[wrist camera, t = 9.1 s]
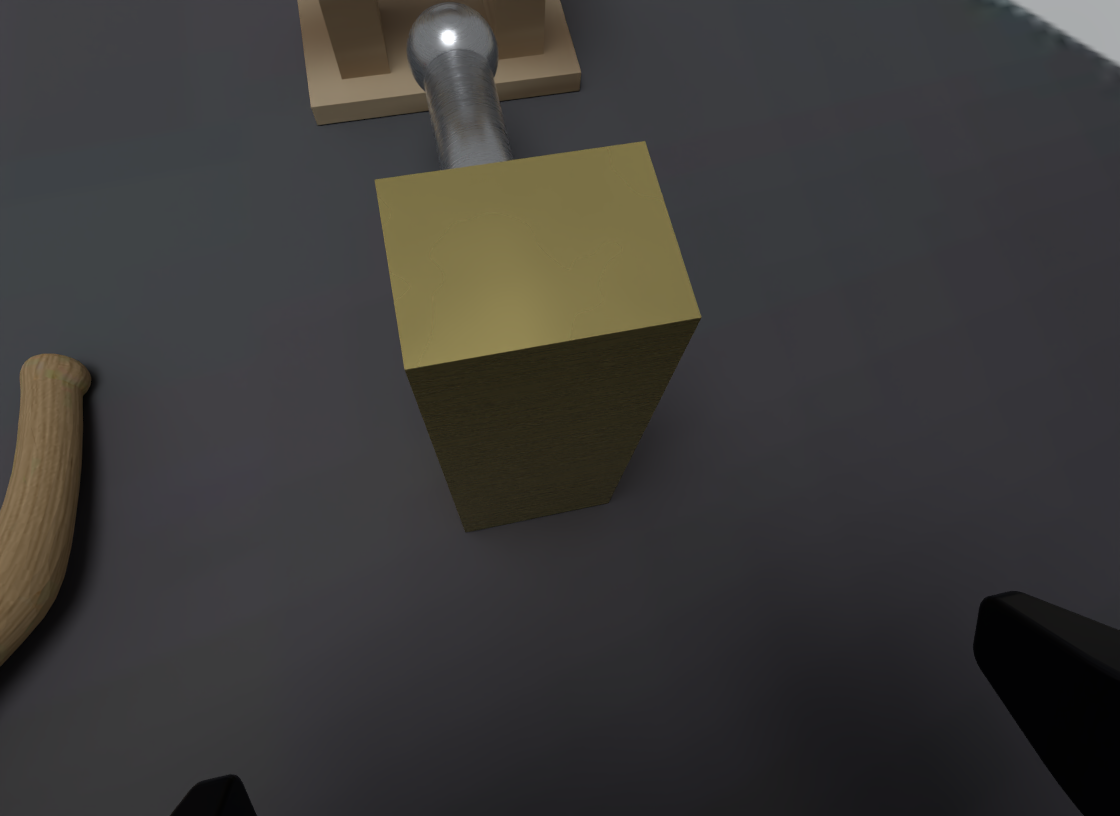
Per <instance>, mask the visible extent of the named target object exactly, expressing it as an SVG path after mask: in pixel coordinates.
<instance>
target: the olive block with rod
mask: <svg viewBox="0 0 1120 816" xmlns="http://www.w3.org/2000/svg"><path fill="white" fill-rule="evenodd" d="M406 52H407V61H408V64H409V68H410V71H411V73H412V75H413V77H414V79H415V80H416V82H417V83H418V85H419V86H420V87H421V88H422V89H423V90H424V91H425V93H426V98H427V103H428V108H429V113H430V118H431V123H432V128H433V133H434V138H435V144H436V149H437V154H438V159H439V164H440V169H441V170H440V171H433V172H426V173H419V174H412V175H405V176H398V177H391V178H384V179H377V180H375V185H376V191H377V197H378V204H379V210H380V216H381V223H382V229H383V235H384V242H385V248H386V254H387V261H388V267H389V273H390V280H391V286H392V292H393V298H394V305H395V311H396V317H397V324H398V330H399V336H400V343H401V349H402V355H403V362H404V368H405V372H406V374H407V377H408V380H409V382H410V385H411V388H412V390H413V393H414V396H415V398H416V401H417V404H418V406H419V409H420V412H421V415H422V417H423V420H424V423H425V425H426V428H427V431H428V433H429V436H430V439H431V441H432V444H433V447H434V449H435V452H436V455H437V457H438V460H439V463H440V465H441V468H442V471H443V473H444V476H445V479H446V481H447V484H448V487H449V489H450V492H451V495H452V497H453V500H454V503H455V505H456V508H457V511H458V513H459V516H460V519H461V522H462V524H463V527H464V530H465V532H470V531H475V530H480V529H485V528H490V527H494V526H499V525H504V524H509V523H514V522H519V521H524V520H528V519H533V518H538V517H543V516H548V515H553V514H557V513H562V512H567V511H572V510H577V509H582V508H587V507H591V506H596V505H601V504H606V503H608V502H609V500H610V498H611V496H612V494H613V492H614V490H615V488H616V486H617V484H618V482H619V480H620V478H621V476H622V474H623V472H624V470H625V468H626V466H627V464H628V462H629V460H630V458H631V457H632V455H633V453H634V451H635V449H636V447H637V445H638V443H639V441H640V439H641V437H642V435H643V433H644V431H645V429H646V427H647V425H648V423H649V421H650V419H651V417H652V415H653V413H654V411H655V409H656V407H657V405H658V403H659V401H660V399H661V397H662V395H663V393H664V391H665V389H666V387H667V385H668V383H669V381H670V379H671V377H672V375H673V373H674V371H675V369H676V367H677V365H678V363H679V361H680V359H681V357H682V355H683V353H684V351H685V349H686V347H687V345H688V343H689V341H690V339H691V337H692V335H693V333H694V331H695V329H696V327H697V325H698V323H699V321H700V319H701V315H700V312H699V309H698V306H697V303H696V299H695V296H694V293H693V290H692V287H691V284H690V281H689V278H688V274H687V271H686V268H685V265H684V262H683V259H682V256H681V252H680V249H679V246H678V243H677V240H676V237H675V234H674V231H673V227H672V224H671V221H670V218H669V215H668V212H667V209H666V206H665V202H664V199H663V196H662V193H661V190H660V187H659V184H658V180H657V177H656V174H655V171H654V168H653V165H652V162H651V159H650V155H649V152H648V149H647V146H646V143H645V141H643V142H636V143H629V144H622V145H615V146H608V147H601V148H594V149H587V150H580V151H573V152H566V153H559V154H552V155H545V156H538V157H531V158H524V159H517V160H513V156H512V152H511V148H510V143H509V139H508V135H507V131H506V127H505V123H504V118H503V114H502V110H501V106H500V102H499V98H498V93H497V89H496V85H495V81H494V77H495V74H496V72H497V67H498V60H499V52H498V45H497V41H496V38H495V35H494V33H493V31H492V29H491V27H490V25H489V24H488V22H487V21H486V20H485V19H484V18H483V17H482V16H481V15H480V14H479V13H478V12H477V11H475V10H474V9H472V8H470V7H469V6H466V5H464V4H460V3H455V2H444V3H439V4H436V5H433V6H431V7H429V8H428V9H426V10H425V11H423V12H422V13H421V14H420V15H419V16H418V17H417V19H416V20H415V22H414V23H413V25H412V27H411V29H410V32H409V35H408V39H407V48H406Z"/></svg>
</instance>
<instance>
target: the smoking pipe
mask: <svg viewBox="0 0 1120 816" xmlns="http://www.w3.org/2000/svg"><path fill="white" fill-rule="evenodd" d="M90 385H91V376H90V373H89V371H88V370H87V368H86V367H85V366H84V365H83V364H82V363H80V362H79V361H77V360H75V359H73V358H70V357H67V356H63V355H58V354H40V355H36V356H33V357H31V358H29V359H28V360H27V361H26V362H25V363H24V365H23V366H22V369H21V371H20V387H21V399H20V414H19V424H18V434H17V444H16V451H15V457H14V463H13V469H12V474H11V478H10V481H9V485H8V489H7V492H6V496H5V499H4V503H3V506H2V508H1V511H0V666H1V665H2V664H3V663H4V662H5V661H6V660H7V659H8V658H9V657H10V656H11V655H12V654H13V652H14V651H15V650H16V649H17V648H18V647H19V646H20V645H21V644H22V643H23V642H24V641H25V639H26V638H27V637H28V636H29V635H30V634H31V632H32V631H33V630H34V629H35V628H36V627H37V625H38V624H39V623H40V622H41V621H42V619H43V618H44V617H45V615H46V614H47V612H48V611H49V609H50V607H51V606H52V604H53V603H54V601H55V599H56V597H57V594H58V592H59V590H60V587H61V585H62V582H63V580H64V577H65V573H66V569H67V564H68V560H69V555H70V551H71V546H72V540H73V534H74V527H75V519H76V511H77V504H78V496H79V486H80V477H81V467H82V443H83V395H84V394H85V393H86V392H87V391H88V389H89V387H90Z"/></svg>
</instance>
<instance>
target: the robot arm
mask: <svg viewBox="0 0 1120 816" xmlns="http://www.w3.org/2000/svg"><path fill="white" fill-rule="evenodd" d="M973 651H974V656H975V659H976V661H977V664H978V666H979V667H980V669H981V671H982V672H983V674H984V675H985V677H986V678H987V680H988V681H989V683H990V684H991V686H992V687H993V689H994V690H995V691H996V693H997V694H998V696H999V697H1000V699H1001V700H1002V702H1003V703H1004V705H1005V706H1006V708H1007V709H1008V711H1009V712H1010V714H1011V715H1012V717H1013V718H1014V720H1015V721H1016V723H1017V724H1018V726H1019V727H1020V729H1021V730H1022V732H1023V733H1024V735H1025V736H1026V738H1027V739H1028V741H1029V742H1030V744H1031V745H1032V746H1033V748H1034V749H1035V751H1036V752H1037V754H1038V755H1039V757H1040V758H1041V760H1042V761H1043V763H1044V764H1045V766H1046V767H1047V768H1048V770H1049V771H1050V773H1051V774H1052V775H1053V777H1054V778H1055V780H1056V781H1057V782H1058V784H1059V785H1060V786H1061V788H1062V789H1063V790H1064V791H1065V793H1066V794H1067V795H1068V797H1069V798H1070V799H1071V800H1072V802H1073V803H1074V804H1075V805H1076V807H1077V808H1078V809H1079V810H1080V812H1081V813H1082V814H1083V815H1084V816H1120V630H1117V629H1115V628H1112V627H1110V626H1107V625H1104V624H1102V623H1099V622H1097V621H1094V620H1092V619H1089V618H1086V617H1084V616H1081V615H1079V614H1076V613H1074V612H1071V611H1068V610H1066V609H1063V608H1061V607H1058V606H1056V605H1053V604H1050V603H1048V602H1045V601H1043V600H1040V599H1038V598H1035V597H1032V596H1030V595H1027V594H1025V593H1022V592H1018V591H1009V592H1005V593H1001V594H996V595H992V596H988V597H986V598H984V600H983V601H982V602H981V604H980V607H979V613H978V619H977V625H976V631H975V637H974V643H973ZM170 816H257V815H256V813H255V810H254V808H253V806H252V803H251V801H250V799H249V796H248V794H247V792H246V789H245V787H244V785H243V782H242V781H241V779H240V778H239V777H238V776H237V775H231V774H229V775H225V776H221V777H217V778H212V779H208V780H204V781H201V782H199V783H197V784H196V785H195V786H194V787H192V789H191V790H190V791H189V792H188V793H187V795H186V796H185V797H184V798H183V800H182V801H181V802H180V803H179V805H178V806H177V807H176V808H175V810H174V811H173V812H172V814H171V815H170Z"/></svg>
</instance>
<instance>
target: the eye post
mask: <svg viewBox="0 0 1120 816" xmlns="http://www.w3.org/2000/svg"><path fill="white" fill-rule="evenodd" d="M444 2H455V3H460V4H464V5H466V6H469V7H470V8H472V9H474V10H475V11H477V12H478V13H479V14H480V15H481V16H482V17H483V18H484V19H485V20H486V21H487V22H488V24H489V25H490V27H491V29H492V31H493V33H494V35H495V38H496V41H497V45H498V52H499V60H498V67H497V72H496V74H495V77H494V81H495V85H496V89H497V93H498V98H499V101H504V100H512V99H519V98H527V97H534V96H542V95H549V94H557V93H565V92H572V91H579V89H580V79H581V70H580V67H579V63H578V60H577V57H576V53H575V50H574V46H573V43H572V40H571V36H570V33H569V29H568V26H567V23H566V19H565V16H564V12H563V9H562V6H561V2H560V0H298V8H299V16H300V24H301V31H302V39H303V47H304V55H305V63H306V71H307V79H308V87H309V94H310V102H311V108H312V111H313V114H314V117H315V119H316V122H317V125H323V124H330V123H338V122H345V121H353V120H361V119H368V118H376V117H383V116H391V115H398V114H406V113H413V112H421V111H429V108H428V103H427V98H426V93H425V91H424V90H423V89H422V88H421V87H420V86H419V85H418V83H417V82H416V80H415V79H414V77H413V75H412V73H411V71H410V68H409V64H408V61H407V52H406V48H407V39H408V35H409V32H410V29H411V27H412V25H413V23H414V22H415V20H416V19H417V17H418V16H419V15H420V14H421V13H422V12H423V11H425V10H426V9H428V8H429V7H431V6H433V5H436V4H439V3H444Z"/></svg>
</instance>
